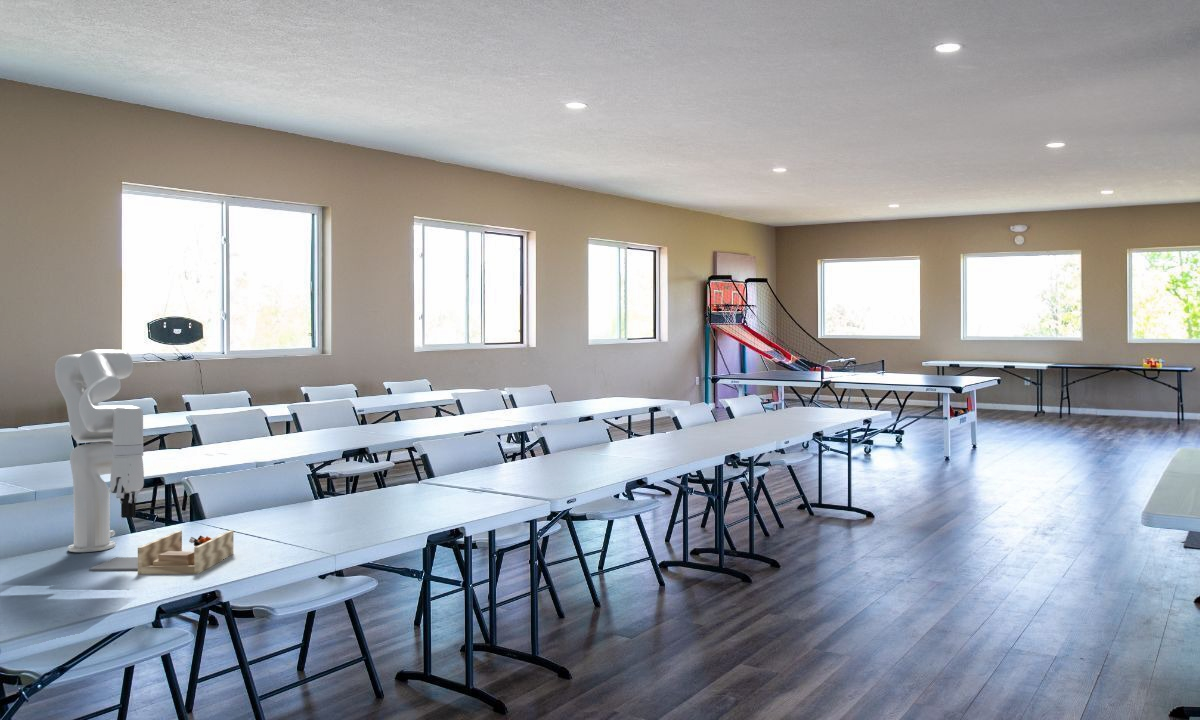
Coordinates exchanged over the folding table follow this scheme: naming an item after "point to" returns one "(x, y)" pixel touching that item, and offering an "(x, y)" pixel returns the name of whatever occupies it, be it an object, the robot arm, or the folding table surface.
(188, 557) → the offcuts
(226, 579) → the folding table surface
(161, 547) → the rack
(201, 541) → the toy
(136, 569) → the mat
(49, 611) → the folding table surface
